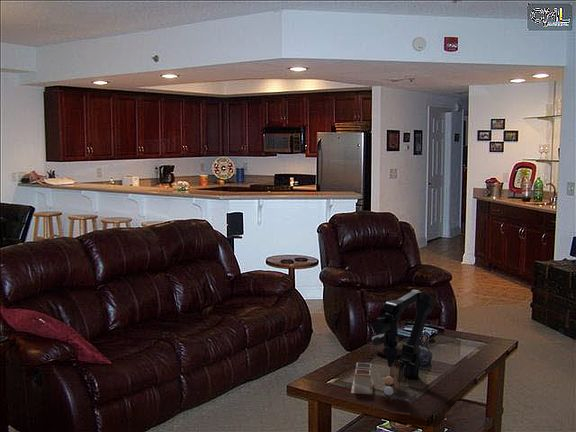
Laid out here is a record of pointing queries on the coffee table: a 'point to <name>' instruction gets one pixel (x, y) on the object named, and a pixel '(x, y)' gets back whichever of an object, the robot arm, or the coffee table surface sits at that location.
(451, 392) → the coffee table surface
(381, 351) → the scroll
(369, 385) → the box
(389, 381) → the terracotta ball
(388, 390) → the grey ball
